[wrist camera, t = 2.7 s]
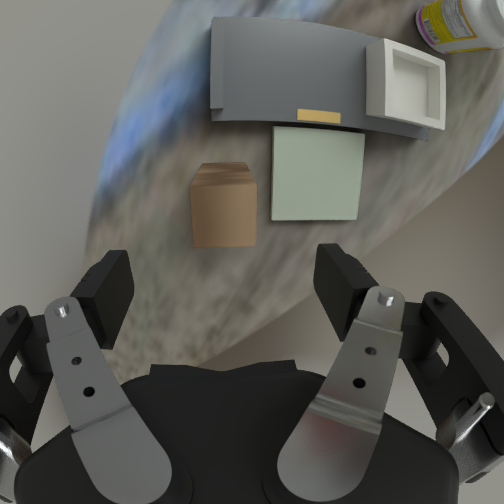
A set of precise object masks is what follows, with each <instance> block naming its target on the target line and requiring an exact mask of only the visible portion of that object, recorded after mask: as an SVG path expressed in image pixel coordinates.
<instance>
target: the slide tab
mask: <svg viewBox="0 0 504 504" xmlns="http://www.w3.org/2000/svg"><path fill="white" fill-rule="evenodd" d="M366 115H370V116H375V117H381V118H386V119H391V120H396V121H400V122H405V123H409V124H413V125H417V126H421V127H427V128H433V129H439V130H445V116H446V72H445V61H443V60H441V59H439V58H436V57H434V56H432V55H429V54H427V53H424V52H422V51H419V50H417V49H414V48H412V47H409V46H406V45H403V44H401V43H398V42H395V41H392V40H389V39H385V38H383V39H381V40H378V41H376V42H373V43H371V44H369V45H366Z"/></svg>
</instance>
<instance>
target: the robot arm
mask: <svg viewBox="0 0 504 504" xmlns="http://www.w3.org/2000/svg"><path fill="white" fill-rule="evenodd" d="M313 282H314V289H315V291H316V293H317V295H318V297H319V299H320V301H321V303H322V305H323V307H324V309H325V311H326V313H327V315H328V317H329V319H330V321H331V323H332V325H333V327H334V329H335V332H336V333H337V336H338V338H339V340H340V342H343V341H344V343H343V345H342V347H341V349H340V351H339V353H338V356H337V357H336V359H335V361H334V363H333V365H332V367H331V369H330V371H329V373H328V375H327V377H325V376H322V375H320V374H317V373H313V372H310V371H304V370H297V368H296V364H295V361H294V360H284V361H273V362H260V363H256V364H252V365H248V366H244V367H240V368H236V369H232V370H228V371H214V370H209V369H203V368H198V367H193V366H188V365H158V364H151V368H150V373H149V375H144V376H141V377H137V378H134V379H132V380H129V381H127V382H125V383H123V384H122V385H119V383H118V381H117V379H116V378H115V376H114V374H113V372H112V370H111V368H110V367H109V365H108V363H107V361H106V359H105V357H104V355H103V353H102V351H101V349H110V350H112V349H113V346H114V344H115V341H116V338H117V336H118V333H119V331H120V328H121V325H122V323H123V320H124V318H125V315H126V313H127V311H128V308H129V306H130V303H131V301H132V299H133V296H134V281H133V277H132V272H131V267H130V262H129V257H128V253H127V251H126V250H109V251H108V252H107V253H106V255H105V256H104V257H103V259H102V260H101V261H100V262H98V263H96V264H95V265H93V266H92V267H91V268H89V270H88V271H87V272H86V274H85V276H84V277H83V278H82V279H81V282H79V283H78V285H77V286H76V288H75V289H74V290H73V292H72V293H71V295H70V296H69V297H62V298H58V299H56V300H54V301H53V302H51V303H50V304H49V305H48V306H47V307H46V309H45V312H44V315H38V316H33V317H30V315H29V313H28V311H27V309H26V308H25V307H24V306H21V305H18V306H13V307H11V308H9V309H7V310H6V311H5V312H4V313H2V315H1V316H0V499H1V500H3V501H4V502H8V503H12V502H15V503H16V504H457V502H458V490H459V485H461V484H463V483H464V482H465V483H473V482H475V481H477V480H479V479H480V478H481V477H483V476H484V475H486V474H487V473H489V472H490V471H491V470H493V469H494V468H495V467H496V466H498V465H499V464H500V463H502V462H503V461H504V361H503V359H502V358H501V357H500V356H499V354H498V353H497V352H496V351H495V349H494V348H493V346H492V345H491V344H490V343H489V341H488V340H487V339H486V338H485V336H484V335H483V334H482V333H481V332H480V330H479V329H478V328H477V327H476V326H475V324H474V323H473V322H472V321H471V320H470V318H469V317H468V316H467V315H466V314H465V313H464V312H463V310H462V309H461V308H460V307H459V306H458V305H457V304H456V303H455V302H454V301H453V299H451V298H450V297H449V296H447V295H445V294H443V293H440V292H434V291H433V292H428V293H426V294H425V295H424V298H423V301H422V303H412V302H405V299H404V296H403V295H402V294H401V293H400V292H399V291H397V290H395V289H393V288H390V287H387V286H379V284H378V283H377V282H376V281H375V280H374V278H373V277H372V276H371V275H370V274H369V273H368V272H367V270H366V269H365V268H364V267H363V265H362V264H361V263H360V262H359V261H358V260H357V259H356V258H354V257H352V256H351V255H349V254H345V253H344V251H343V250H342V249H341V248H340V247H339V245H338V244H336V243H330V244H319V245H318V247H317V254H316V262H315V270H314V278H313ZM440 343H442V344H443V345H444V347H445V348H446V350H447V352H448V354H449V363H448V365H447V367H446V365H445V363H444V362H443V360H442V359H441V357H440V356H439V354H438V353H437V349H438V347H439V345H440ZM15 356H17V358H18V359H19V361H20V362H21V364H22V367H21V369H20V371H19V373H18V375H17V378H16V380H15V382H14V383H13V382H12V380H11V378H10V375H9V369H10V365H11V364H12V362H13V360H14V358H15ZM398 358H401V359H402V360H403V362H404V364H405V366H406V368H407V370H408V371H409V373H410V375H411V377H412V379H413V381H414V383H415V385H416V387H417V389H418V391H419V393H420V394H421V397H422V399H423V400H424V403H425V405H426V407H427V409H428V411H429V413H430V415H431V417H432V419H433V421H434V423H435V425H436V428H437V430H436V437H435V438H436V441H435V440H433V439H431V438H429V437H427V436H425V435H424V434H422V433H420V432H418V431H416V430H414V429H413V428H411V427H409V426H407V425H405V424H404V423H402V422H400V421H399V420H397V419H395V418H393V417H392V416H390V415H388V414H387V413H385V412H384V410H385V407H386V403H387V400H388V396H389V393H390V389H391V385H392V381H393V378H394V374H395V369H396V365H397V361H398ZM53 376H54V378H55V382H56V385H57V388H58V391H59V395H60V398H61V401H62V404H63V406H64V409H65V412H66V415H67V418H68V420H69V423H70V425H69V426H68V427H66V428H65V429H64V430H62V431H61V432H60V433H59V434H57V435H56V436H55V437H54V438H52V439H51V440H50V441H48V442H47V443H45V444H44V445H43V446H42V447H40V448H39V449H38V450H37V451H35V452H34V453H32V451H31V448H30V446H31V442H32V438H33V434H34V431H35V428H36V424H37V421H38V418H39V415H40V412H41V409H42V406H43V403H44V400H45V397H46V394H47V391H48V388H49V386H50V383H51V381H52V378H53Z"/></svg>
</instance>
